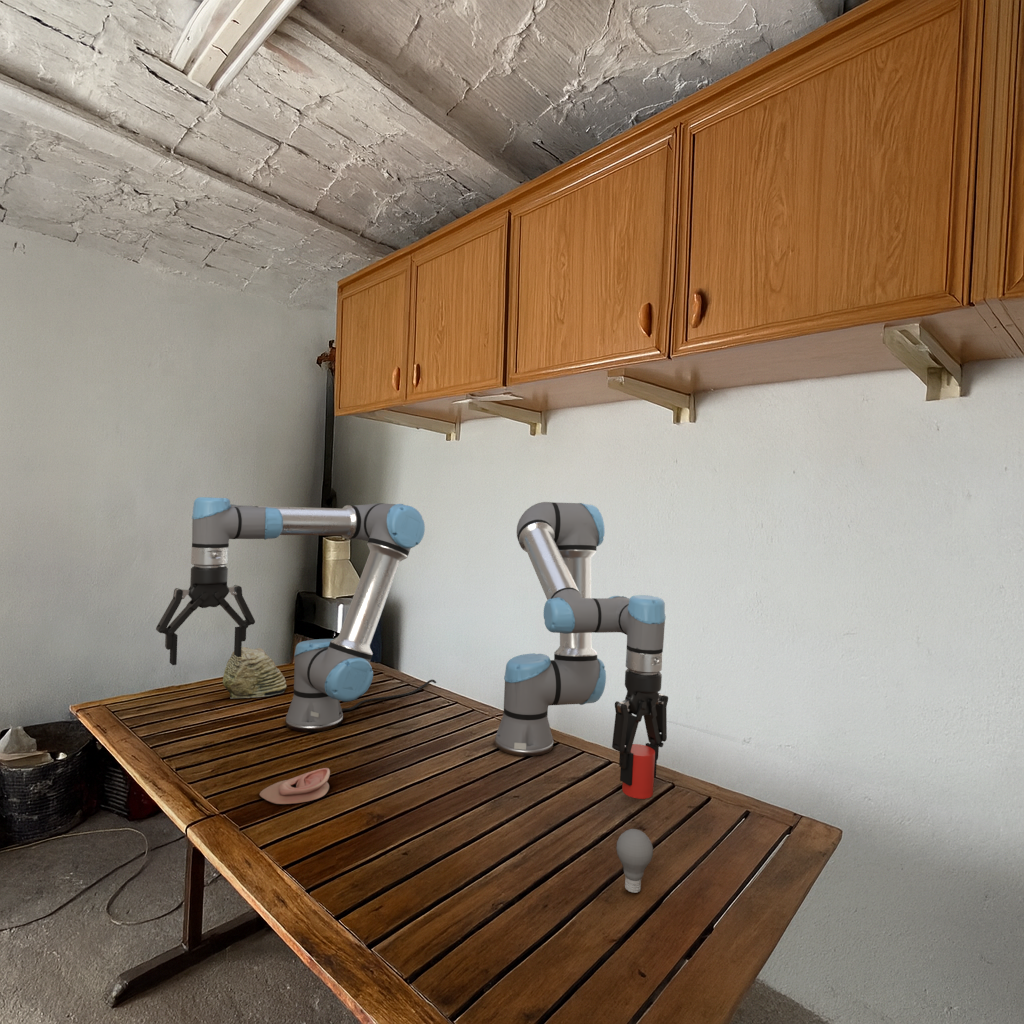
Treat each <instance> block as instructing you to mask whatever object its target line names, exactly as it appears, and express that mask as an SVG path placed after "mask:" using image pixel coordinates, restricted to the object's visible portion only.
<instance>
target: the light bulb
mask: <svg viewBox="0 0 1024 1024" xmlns="http://www.w3.org/2000/svg"><path fill="white" fill-rule="evenodd" d="M615 849H616V854H617V857H618V859H619V861H620V863H621V865H622V867H623V873H624V874H623V875H624V876H625V878H624V888H625V890H627V891H628V892H630V893H634V894H635V893H639V892H640V891H641V889H642V887H641V886H642V879H643V877H644V875H645V871H646V868H647V867H648V866H649V864H650V863H651V861H652V859H653V855H654V847H653V843H652V841H651V838H649V836H648V835H647V834H646V833H645V832H643V831H642V830H641V829H636V828H629V829H627V830H625V831H623V832H622V833H621V834H620V835H619V837H618V839H617V841H616V847H615Z"/></svg>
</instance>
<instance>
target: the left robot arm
mask: <svg viewBox="0 0 1024 1024" xmlns="http://www.w3.org/2000/svg"><path fill="white" fill-rule="evenodd" d="M191 519H192V522H191V526H192V527H191V529H192V530H191V539H192V540H191V552H190V553H191V554H190V555H191V557H190V564H191V565H193V566H192V567H190V582H189V584H190V585H189V588H188V589H186V588H185V589H182V588H179V587H176V588H174V589H173V595H172V599H171V601H170V603H169V604H168V606H167V607H166V609H165V611H164V613H163V615H162V616H161V618H160V619H159V622H158V623H157V625H156V627H155V630H156V631H157V632H158V633H160V634H164V635H165V636H164V637H165V639H164V648H165V649H166V650H167V651H168V650H169V663H170V665H171V666H177V661H178V658H177V657H178V633H176V632H177V631H178V629H180V627H181V626H182V625H183V624H184V623H185V621H186V620H187V619H188V618H189V617H190V616H191V615H192V614H193V612H195V611H196V610H197V609H198V608H201V609H208V608H218V607H219V606H220V607H221V608H222V609H223V610H224V611H225V612H226V613H227V614H228V616H230V618H231V619H232V620H233V621H234V622H235V623H236V624H237V625H238V626H234V641H233V642H234V646H233V652H234V655H235V656H237V657H241V648H242V647H243V646H242V645H243V644H242V643H243V642H246V640H247V629H248V628H249V626H251V625H252V626H253V625H254V624H255V623H256V620H255V618H254V616H253V614H252V612H251V610H250V607H249V606H248V604H247V602H246V600H245V598H244V596H243V589H242V588H243V587H242V586H240V585H238V584H234V585H233V586H228V576H229V575H228V572H229V568H228V567H227V566H226V565H228V564H229V546H230V545H229V542H230V540H265V541H266V540H269V539H278V538H279V537H280V536H342V538H344V539H346V540H359V541H366V542H367V544H366V545H367V547H368V550H369V554H368V557H367V559H366V561H365V564H364V567H363V570H362V573H361V575H360V577H359V580H358V583H357V587H356V588H355V591H354V594H353V597H352V599H351V602H350V604H349V608H348V610H347V611H346V612H347V613H346V615H345V618H344V621H343V623H342V626H341V628H340V631H339V634H338V636H336V637H335V638H319V639H308V640H303V641H300V642H297V644H296V645H295V650H294V655H293V657H294V672H293V695H292V696H293V697H292V699H291V702H290V704H289V708H288V711H287V713H286V715H285V726H286V728H287V729H289V730H291V731H294V732H295V731H296V732H301V733H316V732H325V731H329V730H332V729H335V728H337V727H339V726H340V725H342V723H343V722H344V714H343V712H348V711H349V712H350V711H353V710H355V709H356V708H358V706H360V705H362V704H364V703H368V702H373V701H383V700H389V699H395V698H396V699H397V698H401V697H406V696H410V695H412V694H415V693H417V692H419V691H420V690H421V689H422V688H425V687H426V686H427V685H429V684H430V683H434V684H437V681H436V680H435V679H429V680H428V681H426V682H424V683H423V684H422V685H420V686H419V687H417V688H415V689H414V690H411V691H408V692H404V693H398V694H393V695H388V696H380V697H371V698H366V699H363V700H360V701H359V702H357V703H356V704H355V705H353V706H350V707H346V708H344V707H343V708H342V706H341V702H345V703H347V702H353V701H357V699H359V698H361V697H362V696H364V694H366V692H368V690H369V689H370V687H371V684H372V683H373V680H374V670H373V667H372V665H371V660H372V658H373V654H374V653H373V651H372V649H371V644H372V641H373V638H374V635H375V633H376V630H377V627H378V624H379V621H380V619H381V616H382V613H383V610H384V608H385V605H386V602H387V599H388V596H389V595H390V594H389V593H390V591H391V588H392V585H393V583H394V579H395V577H396V574H397V571H398V569H399V567H400V563H401V562H402V561H404V560H406V559H408V557H409V554H410V552H411V549H413V548H415V547H416V546H418V545H420V543H421V542H422V540H424V535H425V531H426V525H425V521H424V519H423V515H422V514H421V513H420V512H419V510H418V509H416V508H415V507H414V506H412V505H408V504H407V505H406V504H404V503H384V502H383V503H382V502H377V503H367V504H357V505H356V504H355V505H350V504H347V505H344V506H343V507H342V508H341V507H340V508H338V507H336V508H334V507H305V506H304V507H303V506H302V507H301V506H270V505H239V504H232V503H231V500H230V498H227V497H212V496H211V497H210V496H208V497H207V496H200V497H197V498H196V499H194V501H193V506H192V516H191ZM229 593H230V595H231V596H233V597H234V599H235V602H236V604H237V606H238V607H239V610H240V611H241V614H242V615H243V617H244V619H243V618H242V617H241V616H240V614H239V613H238V612H237V611H236V610H235V609H234V608H233V607H232V605H230V603H229V602H228V601H227V600H226V599H225V598H226V597H227V596H228V595H229ZM187 596H188V597H189V598H190V600H189V601H188V603H187V604H186V606H185V607H184V608H183V609H182V610H181V611H180V613H178V615H176V617H175V618H174V619H173V617H174V615H175V614H176V612H177V610H178V608H179V607H180V605H181V603H182V600H184V599H185V598H186V597H187ZM172 619H173V620H172Z"/></svg>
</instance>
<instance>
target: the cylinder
mask: <svg viewBox="0 0 1024 1024" xmlns="http://www.w3.org/2000/svg"><path fill="white" fill-rule="evenodd" d="M645 745H646V744H638V743H633V745H632V748H631V753H633V773H632V785H630V786H629V785H627V784H625V783H624V782H622V786H621V788H622V789H621V791H622V792H623V794H624V795H626V796H627V797H629V798H633V799H639V800H646V799H650V798H652V797H653V795H654V785H655V783H654V782H655V778H654V765H655V750H654V749H652V748H651V747H648V746H645ZM625 747H626V745H625Z"/></svg>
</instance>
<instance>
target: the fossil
mask: <svg viewBox="0 0 1024 1024" xmlns="http://www.w3.org/2000/svg"><path fill="white" fill-rule="evenodd" d="M222 676H223V677H222V685H223V687H224V688H225V690H226V691H228V693H229V698H230V699H250V698H264V697H271V696H275V695H281V694H284V693H285V691H286V689H287V687H288V686H287V680H286V678H285V676H284V674H283V673H282V672H281V669H279V668H278V667H277V665H276V663H275V662H274V660H273V659H272V658H271V657H270V656H269V655H268V654H267V653H266V652H265V650H264V649H263V648H260V647H258V648H251V647H247V646H246V647H245V646H242V648H241V657H237V656H235V655H234V651H232V653H231V656H230V657H229V659H228V660H227V663H226V666H225V668H224V671H223V675H222Z"/></svg>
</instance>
